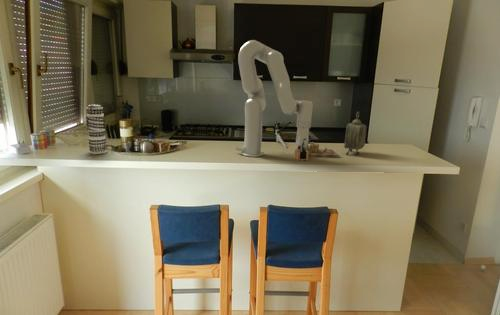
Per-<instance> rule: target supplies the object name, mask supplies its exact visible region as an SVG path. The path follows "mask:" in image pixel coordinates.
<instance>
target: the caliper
mask: <svg viewBox="0 0 500 315" xmlns="http://www.w3.org/2000/svg"><path fill="white" fill-rule="evenodd" d="M276 142H277V143H280V144H281V145H282V147H283V149H287V148H288V147H287V145H286V143H285V142H284V140H283V139H282V137H281V135H280V133H279V132H278V133H277V135H276Z"/></svg>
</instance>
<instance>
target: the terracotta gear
mask: <svg viewBox="0 0 500 315" xmlns="http://www.w3.org/2000/svg"><path fill="white" fill-rule="evenodd" d="M300 151H301V149H297V148H296V149H295V150H294V155H293V157H294V159H295V160H297V161H308V160H309V157H308V155H309V151H308V150H307V151H306V159H300Z"/></svg>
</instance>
